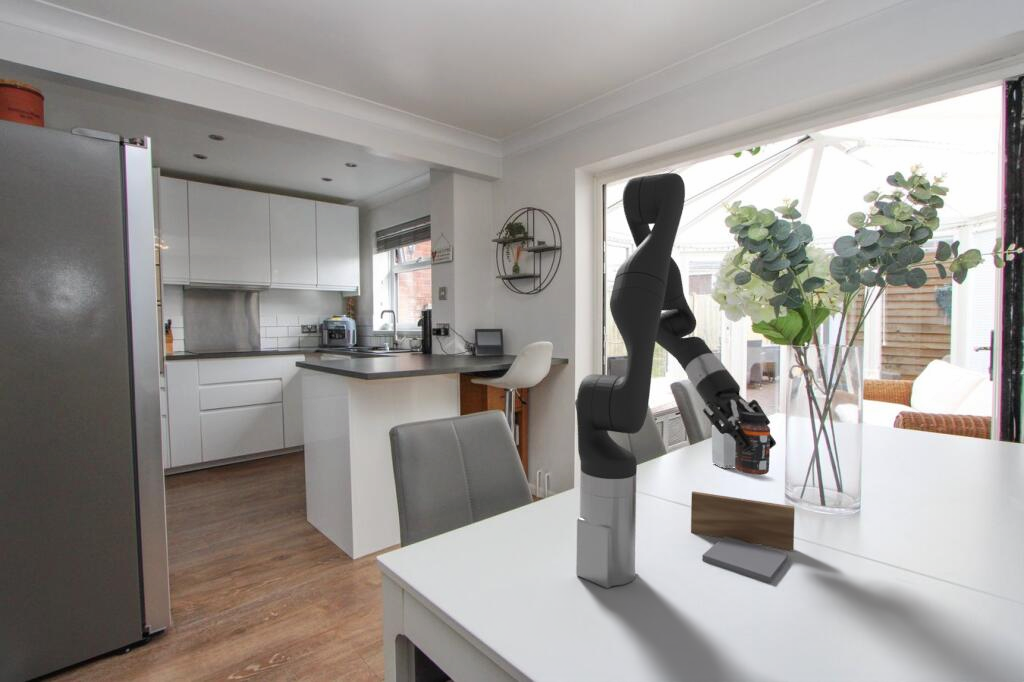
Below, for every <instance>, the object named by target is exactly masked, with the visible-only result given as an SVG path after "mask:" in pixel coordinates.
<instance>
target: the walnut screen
mask: <svg viewBox="0 0 1024 682" xmlns="http://www.w3.org/2000/svg"><path fill="white" fill-rule="evenodd" d="M795 509H796V508H795V506H793V505H787V504H779V503H775V502H774V503H773V502H766V501H760V500H755V499H754V500H753V499H746V498H742V497H741V498H740V497H739V498H738V497H733V496H725V495H720V494H714V493H707V492H706V493H705V492H700V491H691V509H690V512H691V514H690V533H693V534H699V535H705V536H707V537H709V536H710V537H713V538H714V537H715V538H719V539H722V538H723V537H724V536H727V537H731V538H734V539H737V540H741V541H744V542H748V543H751V544H754V545H758V546H762V547H769V548H774V549H780V550H786V551H791V552H794V549H795V548H794V545H795V544H794V542H795V539H794V538H795V512H796V511H795Z"/></svg>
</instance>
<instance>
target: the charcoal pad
mask: <svg viewBox="0 0 1024 682" xmlns="http://www.w3.org/2000/svg"><path fill="white" fill-rule="evenodd" d="M702 561H703V562H706V563H709V564H712V565H714V566H718V567H721V568H723V569H726V570H730V571H733V572H736V573H738V574H741V575H745V576H746V577H750V578H753V579H756V580H760V581H763V582H765V583H769V584H771V583H772V581H773V580H774V579H775V577H777V575H778V574H779V573H780V571H781V570H782V569H783V567H784V566H785V565H786V563H787V562H788V561H789V554H788V553H785V552H782V551H777V550H775V549H771V548H767V547H766V546H762V545H757V544H752V543H748V542H744V541H741V540H737V539H734V538H731V537H727V536H724V537H723V538H720V540H719V541H717V542H716V543H715V544H713V546H711V547H710V548H709V549H707V550H706V552H704V553H703V554H702Z"/></svg>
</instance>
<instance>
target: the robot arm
mask: <svg viewBox="0 0 1024 682" xmlns="http://www.w3.org/2000/svg"><path fill="white" fill-rule="evenodd" d="M685 198H686V187H685V181H684V180H683V178H682V176H681V175H680V174H677V173H675V172H673V173H672V172H670V173H669V172H666V173H665V172H664V173H657V174H652V175H644V176H642V175H641V176H637V177H633V178H630V179H628V180H627V182H626V183H625V185H624V189H623V192H622V205H623V212H624V215H625V216H624V217H625V219H626V222H627V224H628V227H629V231H630V233H631V236H632V239H633V241H634V245H635V247H636V248H635V249H634V250H633V251H632V252H631V253H630V254H629V255H628V257H626V259H624V261H623V263H622V264H621V265H620V267H619V268H618V270H617V272H616V274H615V277H614V281H613V286H612V291H611V295H610V300H609V309H610V312H611V317H612V318H613V322H614V324H615V327H616V328H617V330H618V332H619V334H620V336H621V338H622V340H623V341H622V342H623V343H624V346H625V348H626V349H625V350H626V353H627V364H626V372H625V374H624V376H623V375H610V374H597V373H596V374H594V373H592V374H589V375H586V376H585V377H584V378H583V379H582V380H581V382H580V384H579V387H578V392H577V397H576V421H577V422H576V424H577V449H578V456H579V460H580V461H579V462H580V472H579V473H580V478H579V479H580V483H579V486H580V489H579V518H578V519H576V565H575V566H576V567H575V568H576V569H575V571H576V572H575V573H576V576H578V577H580V578H583V579H585V580H587V581H589V582H592V583H594V584H597V585H599V586H601V587H603V588H606V589H609V588H611V587H614V586H623V585H626V584H629V583H630V582H632V581H633V580H634V578H635V575H636V531H637V529H636V524H637V523H636V522H637V521H636V519H637V517H636V516H637V515H636V514H637V513H636V512H637V469H638V466H637V464H638V463H637V458H636V456H635V455H634V453H632V452H631V451H630V450H628V449H626V448H624V447H623V446H621V445H619V444H618V442H616V441H614V439H613V438H612V437H611V436H610V435H609V434H610V433H608V432H614V433H622V434H629V435H630V434H637V433H639V432H640V431H641V430H642V428H643V426H644V423H645V422H646V419H647V416H648V415H647V414H648V409H649V404H650V403H649V402H650V394H651V383H652V373H653V364H654V362H653V361H654V354H655V348H656V344H658V345H659V346H660V347H661V348H662V349H664V350H665V351H667V353H669V354H670V355H671V356H673V358H674V359H676V360H677V363H678V364H679V365H680V366H681V368H682V369H683V371H684V372H685V374H686V376H687V377H688V379H689V381H690V383H691V384H692V386H693V387H694V389H695V390H696V392H697V393H698V395H699V396H700V398H701V399H702V400H703V402H704V403H705V404H706V406H705V407H704V408H703V410H702V411H703V412H702V413H704V415H705V416H706V417H707V419H708V420H710V422H711V423H712V425H714V426H715V427H716V428H717V429H718V431H719V432H720V433H721V434H724V433H727V434H728V435H729V436H732V437H733V438H734V440H735V441H736V442H737V444H738V446H739V447H740V448H741V449H742V451H743V452H748V451H749V450H750V449H752V448H753V444H752V442H751V441H750V440H749V438H748V437H747V435H746V434H745V433H744V431H743V430H740V429H741V428H740V424H739V423H740V422H742V421H743V419H742V412H758V413H763V414H765V423H766V425H767V426H769V425H770V424H771V421H770V419H769V418H768V416H767V414H766V413H765V412H764V410H763V408H762V407H761V406H760V404H759V402H758V400H756V399H752V400H751V401H746V399H744V398H743V397H742V396H741V395H740V392H741V387H740V385H739V383H738V381H736V380H735V377H733V376H732V374H731V373H730V372H729V370H728V368H726V366H725V365H724V363H723V362H722V361H721V360H720V359H719V358H718V357H717V356H716V355H715V354H714V353H713V351H712V350H711V348H710V347H709V346H708V345H707V343H706V342H705V341H704V339H703V338H701V337H699V336H690V335H691V334H692V333H693V332H694V331H695V330H696V328H697V319H696V317H695V315H694V312H693V311H692V309H691V308H690V305H689V304H688V301H687V299H686V296H685V293H684V286H683V279H682V273H681V270H680V268H679V265H678V264H677V262H676V261H675V259H674V258H673V257H672V252H673V248H674V244H675V240H676V237H677V234H678V229H679V226H680V222H681V219H682V215H683V211H684V206H685V200H686V199H685ZM649 225H653V226H652V228H650V226H649ZM662 311H664V312H662ZM687 336H688V337H687ZM720 421H721V423H722V424H721V423H720ZM721 425H723V426H721ZM776 445H777V442H776V440H775V438H774V437H773V436H772V435H771V433H770V450H771V449H772V448H774V447H775V446H776Z"/></svg>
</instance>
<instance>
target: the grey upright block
mask: <svg viewBox="0 0 1024 682" xmlns="http://www.w3.org/2000/svg"><path fill="white" fill-rule="evenodd" d="M721 426H723V424H721ZM735 446H736V441H735V440H734V438H733V437H732V436H729V435H728V434H727V433H724V434H721V433H720V432H719V431H718V429H717V428H716V427H715V426H714V425H713V424H712V425H711V461H712V462H713V463H715V464H717V465H719V466H721V467H723V468H733V467H735ZM721 467H720V468H721ZM723 468H722V469H723Z"/></svg>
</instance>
